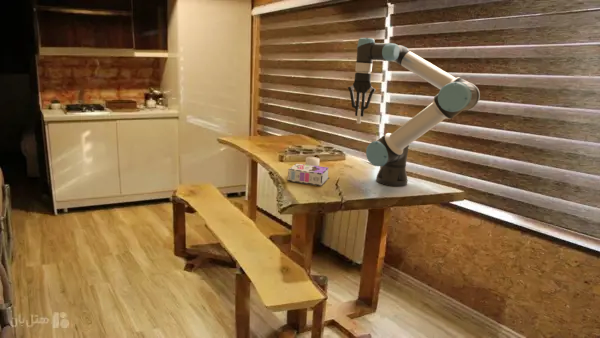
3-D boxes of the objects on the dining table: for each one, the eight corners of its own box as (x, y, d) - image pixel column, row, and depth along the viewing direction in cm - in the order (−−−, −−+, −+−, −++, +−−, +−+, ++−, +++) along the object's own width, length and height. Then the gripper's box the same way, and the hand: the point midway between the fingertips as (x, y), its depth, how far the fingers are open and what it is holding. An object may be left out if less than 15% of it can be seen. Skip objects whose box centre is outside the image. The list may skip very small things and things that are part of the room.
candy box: (322, 173, 208) (287, 168, 212) (321, 186, 210) (287, 181, 214) (328, 167, 222) (295, 162, 225) (327, 179, 223) (294, 174, 227)
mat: (329, 178, 227) (329, 177, 226) (316, 186, 210) (316, 185, 210) (306, 174, 231) (306, 173, 231) (292, 181, 215) (292, 181, 214)
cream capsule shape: (320, 171, 239) (321, 158, 237) (315, 173, 233) (316, 160, 231) (308, 169, 242) (309, 156, 240) (302, 171, 235) (303, 158, 234)
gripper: (378, 73, 216) (373, 123, 221) (351, 71, 220) (346, 121, 225) (375, 73, 209) (370, 125, 214) (347, 71, 213) (343, 122, 218)
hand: (358, 123), depth 220 cm, fingers closed
